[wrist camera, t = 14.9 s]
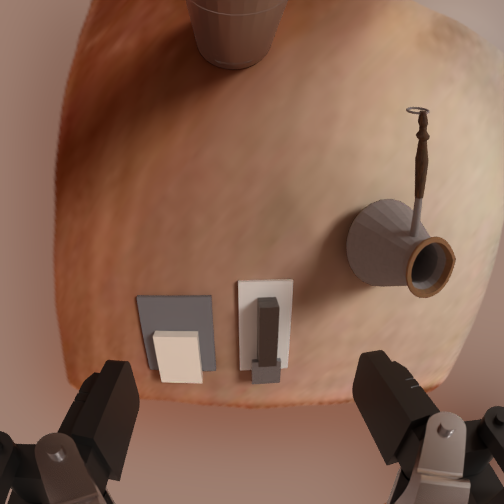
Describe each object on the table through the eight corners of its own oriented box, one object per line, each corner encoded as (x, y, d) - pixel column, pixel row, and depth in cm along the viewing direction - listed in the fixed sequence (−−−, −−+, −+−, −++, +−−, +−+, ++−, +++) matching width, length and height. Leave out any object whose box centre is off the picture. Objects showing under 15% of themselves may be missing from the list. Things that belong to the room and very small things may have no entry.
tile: (152, 336, 37) (161, 382, 39) (197, 337, 37) (202, 383, 39) (155, 330, 38) (163, 374, 41) (198, 330, 39) (202, 375, 41)
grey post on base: (251, 297, 38) (253, 308, 35) (282, 296, 38) (286, 306, 36) (251, 376, 42) (252, 389, 39) (277, 374, 42) (280, 387, 39)
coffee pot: (413, 265, 40) (478, 307, 25) (345, 288, 40) (396, 346, 25) (391, 118, 34) (465, 103, 19) (313, 130, 34) (367, 108, 19)
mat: (137, 295, 38) (136, 297, 37) (211, 295, 38) (211, 297, 38) (150, 367, 41) (150, 369, 40) (216, 368, 42) (216, 370, 41)
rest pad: (238, 280, 38) (238, 282, 37) (292, 278, 38) (293, 280, 38) (239, 368, 42) (240, 370, 41) (286, 365, 42) (287, 367, 42)
